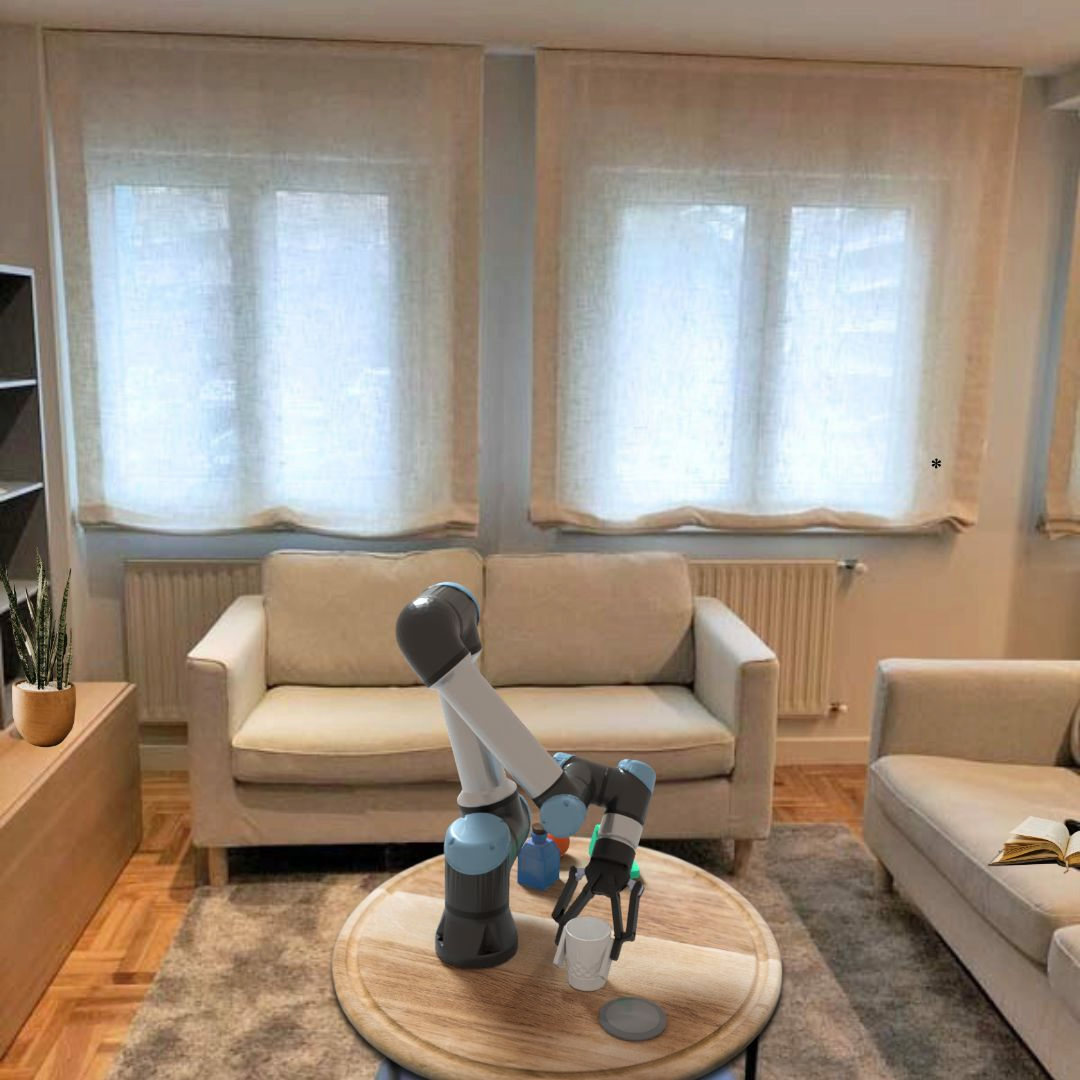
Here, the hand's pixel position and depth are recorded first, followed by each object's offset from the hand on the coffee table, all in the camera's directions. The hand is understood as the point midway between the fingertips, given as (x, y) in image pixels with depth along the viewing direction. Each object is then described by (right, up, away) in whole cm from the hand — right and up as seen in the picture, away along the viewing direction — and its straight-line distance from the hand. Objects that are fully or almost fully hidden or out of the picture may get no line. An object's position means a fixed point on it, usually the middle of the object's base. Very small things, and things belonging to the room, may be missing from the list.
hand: (579, 971), depth 193 cm
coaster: (+8, -5, -7) cm, 12 cm away
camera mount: (+9, +5, +43) cm, 44 cm away
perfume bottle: (-7, +4, +38) cm, 39 cm away
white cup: (+1, -3, +4) cm, 5 cm away
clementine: (-4, +6, +48) cm, 49 cm away
